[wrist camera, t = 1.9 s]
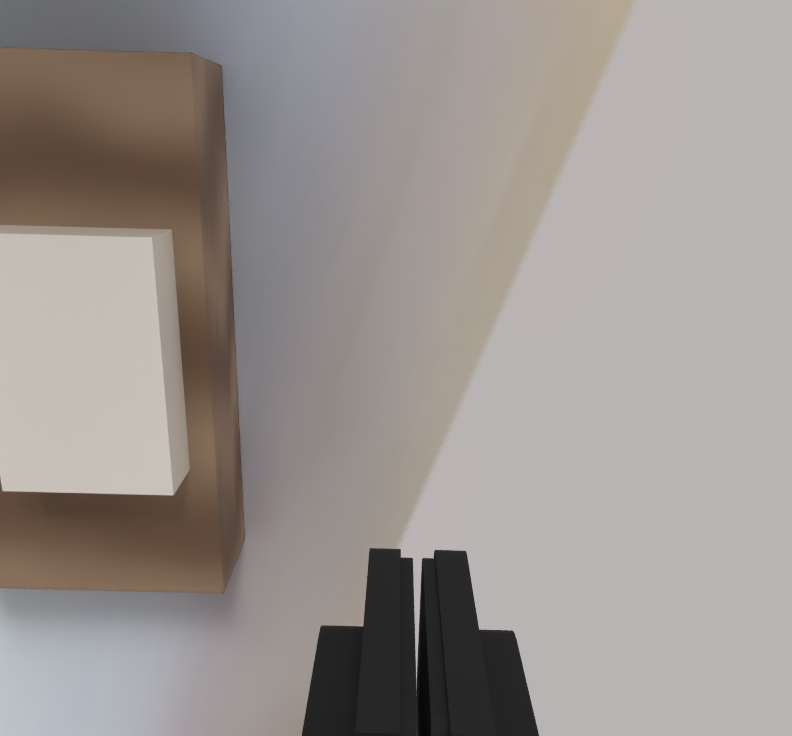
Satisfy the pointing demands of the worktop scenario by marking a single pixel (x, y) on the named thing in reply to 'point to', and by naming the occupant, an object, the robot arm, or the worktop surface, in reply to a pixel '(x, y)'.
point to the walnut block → (196, 298)
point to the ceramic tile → (90, 362)
